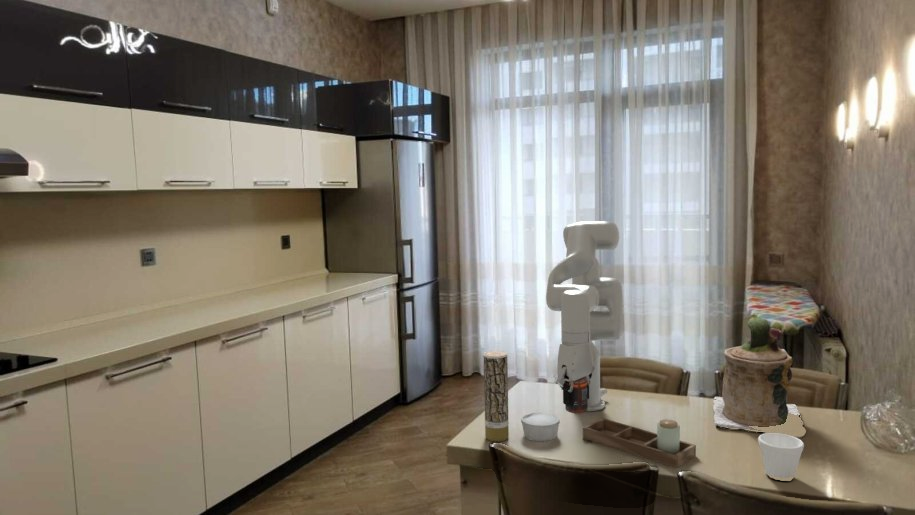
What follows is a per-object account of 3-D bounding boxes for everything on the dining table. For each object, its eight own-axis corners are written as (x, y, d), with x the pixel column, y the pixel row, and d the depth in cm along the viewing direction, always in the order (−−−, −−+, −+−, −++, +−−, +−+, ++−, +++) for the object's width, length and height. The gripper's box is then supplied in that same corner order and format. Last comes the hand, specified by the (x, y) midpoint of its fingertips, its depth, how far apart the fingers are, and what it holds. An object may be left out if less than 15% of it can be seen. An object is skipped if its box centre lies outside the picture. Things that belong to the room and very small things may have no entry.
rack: (603, 430, 190) (603, 418, 189) (695, 458, 169) (695, 445, 168) (582, 439, 183) (582, 427, 182) (676, 470, 162) (676, 456, 161)
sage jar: (664, 450, 173) (664, 417, 172) (683, 456, 169) (683, 422, 168) (653, 456, 169) (653, 422, 168) (672, 462, 165) (673, 428, 164)
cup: (766, 464, 164) (767, 429, 163) (809, 476, 157) (810, 439, 156) (750, 477, 157) (751, 440, 156) (793, 490, 150) (795, 452, 149)
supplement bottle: (589, 407, 175) (588, 367, 173) (586, 415, 169) (585, 374, 168) (567, 405, 177) (566, 365, 175) (563, 413, 171) (563, 372, 170)
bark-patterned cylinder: (507, 443, 182) (505, 357, 179) (483, 441, 183) (481, 356, 180) (510, 434, 188) (508, 350, 186) (487, 432, 190) (485, 350, 187)
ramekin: (529, 426, 194) (529, 409, 193) (565, 432, 189) (564, 414, 188) (515, 440, 184) (515, 422, 184) (552, 446, 179) (552, 427, 178)
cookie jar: (713, 429, 188) (715, 322, 185) (712, 402, 211) (714, 307, 207) (808, 439, 179) (812, 327, 176) (797, 410, 202) (800, 310, 198)
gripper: (583, 327, 179) (583, 389, 181) (543, 340, 167) (544, 406, 170) (606, 332, 173) (606, 396, 176) (567, 346, 162) (567, 414, 164)
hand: (576, 400), depth 173 cm, fingers closed on supplement bottle, 6 cm apart
